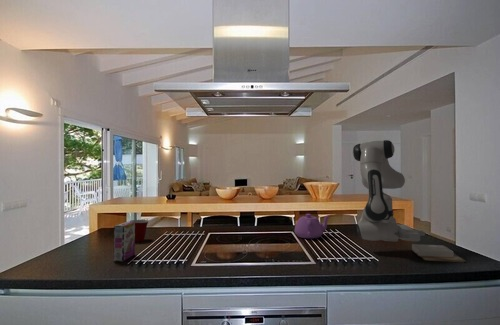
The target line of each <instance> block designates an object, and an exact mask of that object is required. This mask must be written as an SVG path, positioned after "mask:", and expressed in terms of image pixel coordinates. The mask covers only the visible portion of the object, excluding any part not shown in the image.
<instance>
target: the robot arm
mask: <svg viewBox="0 0 500 325" xmlns="http://www.w3.org/2000/svg"><path fill="white" fill-rule="evenodd" d="M395 151H396V150H395V145H394V143H393V142H392V141H391V140H389V139H388V140H387V139H384V140H374V141H369V142H368V141H367V142H362V143H357V144H354V146H353V149H352V156H353V158H354V160H355V161H356V162H359V163H360V164H359V169H360V176H361V184H362V185H363V187H365V188H366V189H367V190H368V200H367V202H366V204H365V207H364V208H363V209H362V214H361V216H360V219H359V221H357V223H356V232H357V235H358V237H359V238H361V239H362V240H365V241H377V242H378V241H384V242H396V243H397V242H399V240H402V241H406V242H420V241H421V236H422V237H424V236H426V232H425V231H424V230H420V229H419V230H418V229H413V228H412V227H410V226H408V225H406V224H402V223H397V219H396V217H394V209H393V198H392V197H391V196H390V195H389V194H387V193H385V192H384V191H383V190H384V189H386V190H387V189H388V190H389V189H391V190H394V189H401V188H403V186H404V185H405V183H406V178H405V176H404V175H403V173H402V172H399V171H397V170H395V169H394V168H393V167H392V166H391V165H390V162H389V159H390V158H393V156H394V154H395Z"/></svg>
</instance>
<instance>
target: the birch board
mask: <svg viewBox="0 0 500 325" xmlns="http://www.w3.org/2000/svg"><path fill="white" fill-rule="evenodd" d="M419 257H420V258H421V259H422V260H424V261H432V262H448V263H464V262H465V263H466V260H465V259H464V258H462V257H460V256H459V255H457V254H456V253H454V258H441V257H422V256H419Z"/></svg>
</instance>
